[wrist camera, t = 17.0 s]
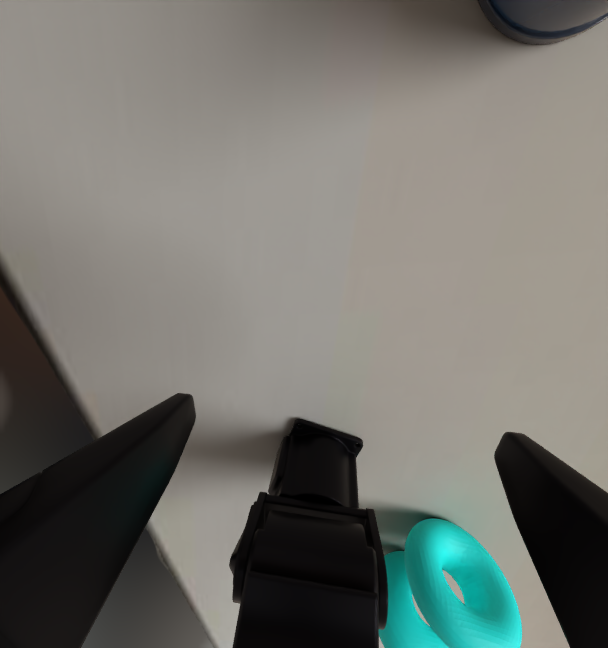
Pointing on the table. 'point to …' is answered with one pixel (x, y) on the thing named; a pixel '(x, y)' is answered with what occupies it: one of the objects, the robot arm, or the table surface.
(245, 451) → the table surface
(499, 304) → the table surface
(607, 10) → the blue mug
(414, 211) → the table surface
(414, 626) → the donuts
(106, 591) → the robot arm
